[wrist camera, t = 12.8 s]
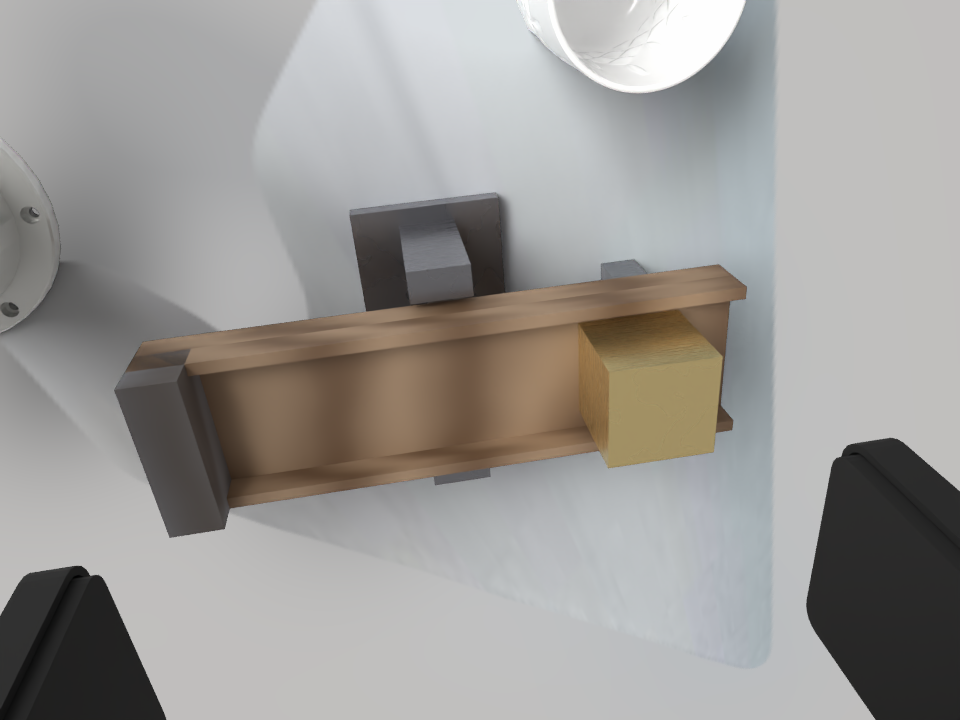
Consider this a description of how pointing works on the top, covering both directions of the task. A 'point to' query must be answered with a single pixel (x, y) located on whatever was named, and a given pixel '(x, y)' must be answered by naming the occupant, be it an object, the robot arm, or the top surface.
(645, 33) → the white cup
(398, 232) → the pivot stand
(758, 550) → the top surface
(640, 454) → the block
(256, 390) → the beam
